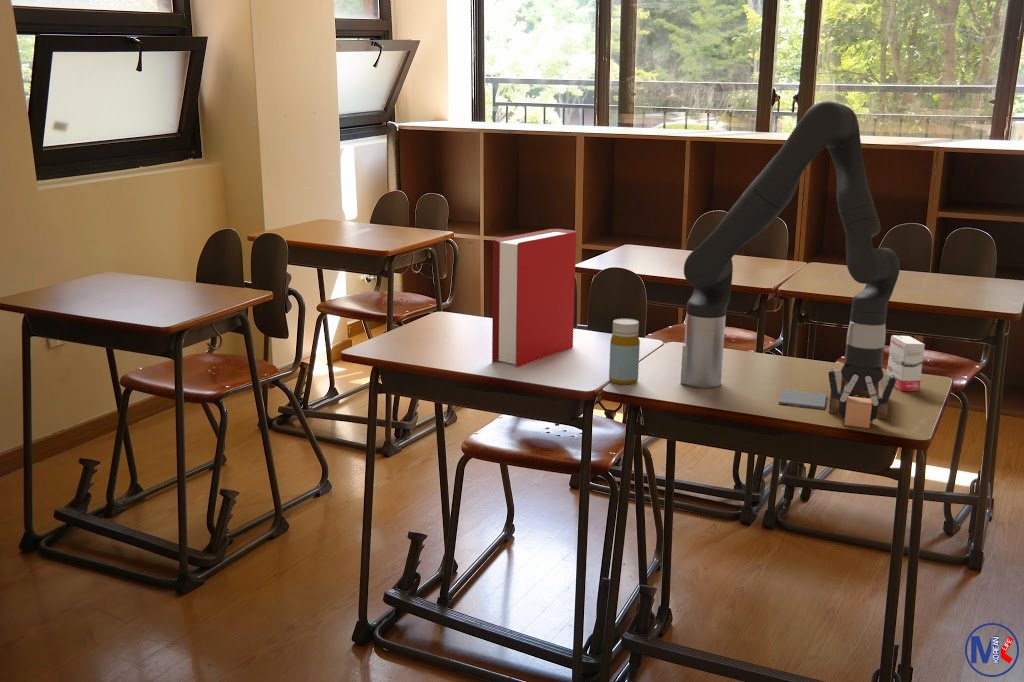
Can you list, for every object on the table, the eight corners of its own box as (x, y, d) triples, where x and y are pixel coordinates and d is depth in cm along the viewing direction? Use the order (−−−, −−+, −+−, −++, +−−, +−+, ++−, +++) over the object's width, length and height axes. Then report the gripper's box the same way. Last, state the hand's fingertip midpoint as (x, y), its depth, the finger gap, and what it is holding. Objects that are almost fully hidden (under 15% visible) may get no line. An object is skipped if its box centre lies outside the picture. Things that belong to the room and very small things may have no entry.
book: (516, 367, 246) (518, 242, 238) (492, 362, 250) (493, 239, 242) (575, 346, 267) (579, 231, 259) (551, 341, 272) (554, 228, 264)
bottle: (613, 376, 239) (616, 317, 236) (641, 379, 237) (643, 319, 233) (605, 383, 233) (607, 323, 229) (633, 387, 231) (636, 326, 227)
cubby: (828, 412, 214) (830, 391, 213) (831, 391, 229) (833, 371, 228) (886, 419, 210) (888, 397, 209) (885, 397, 226) (887, 376, 224)
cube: (844, 425, 206) (846, 402, 204) (844, 417, 210) (847, 396, 209) (869, 428, 204) (871, 405, 203) (869, 420, 209) (871, 398, 207)
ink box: (920, 391, 230) (926, 343, 227) (900, 391, 230) (905, 343, 227) (904, 381, 239) (909, 334, 236) (884, 381, 238) (890, 334, 235)
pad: (778, 404, 219) (778, 401, 219) (782, 391, 228) (782, 389, 228) (824, 409, 216) (824, 406, 216) (826, 396, 225) (826, 394, 225)
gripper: (901, 341, 204) (892, 417, 209) (830, 335, 209) (823, 409, 213) (902, 350, 198) (893, 428, 202) (829, 343, 202) (821, 420, 207)
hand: (857, 418), depth 208 cm, fingers closed on cube, 5 cm apart
